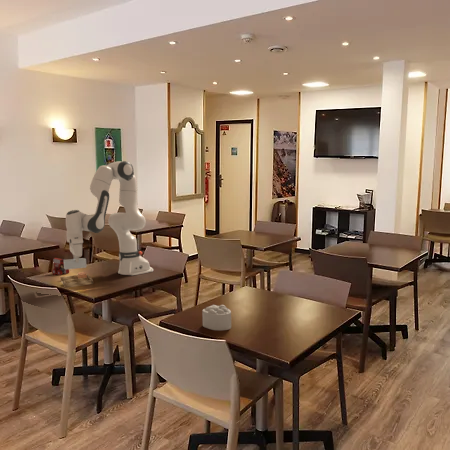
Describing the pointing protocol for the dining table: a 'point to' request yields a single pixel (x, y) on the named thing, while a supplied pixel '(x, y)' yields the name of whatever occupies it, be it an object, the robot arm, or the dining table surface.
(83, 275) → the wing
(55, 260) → the toy fire truck
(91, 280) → the jig
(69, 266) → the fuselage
